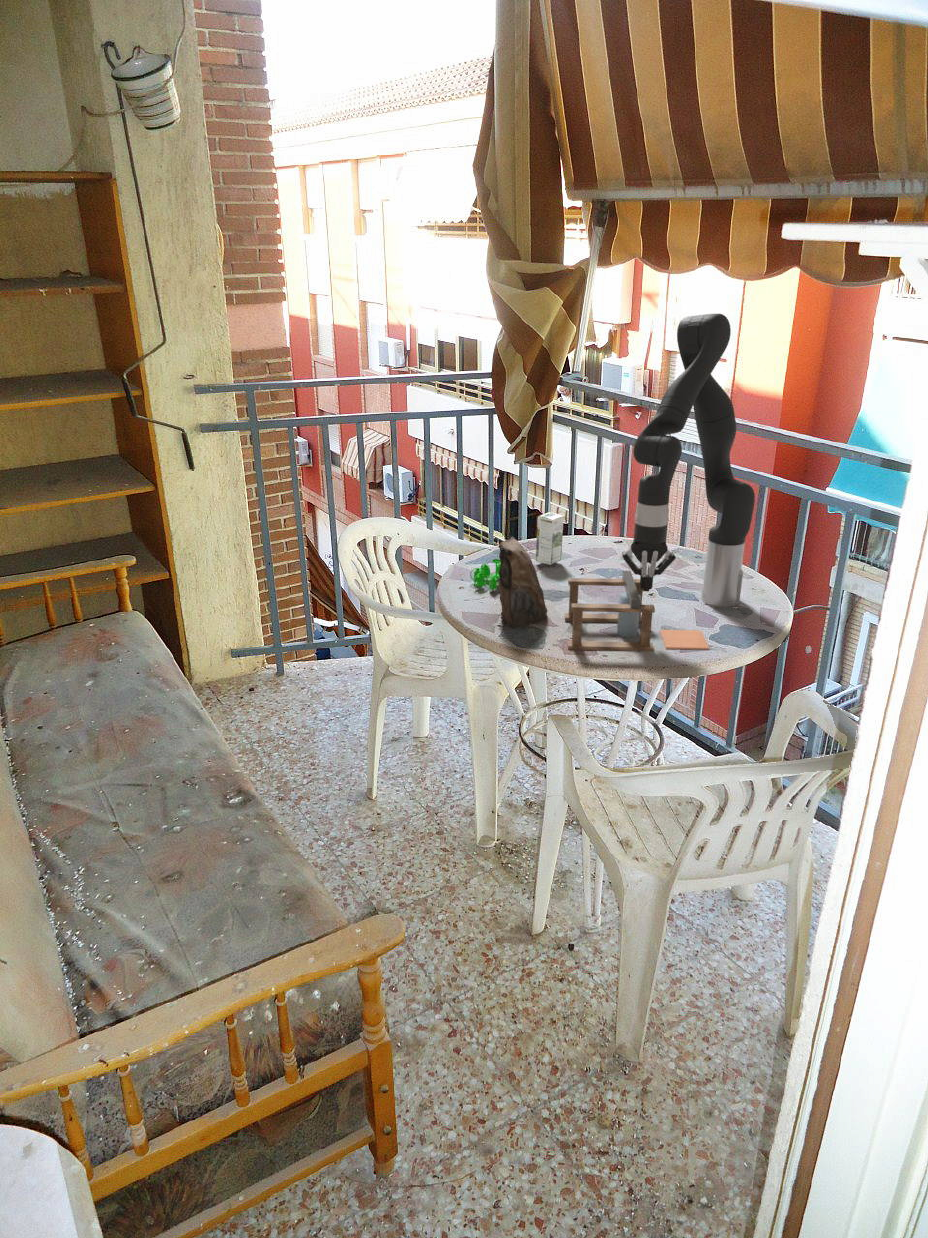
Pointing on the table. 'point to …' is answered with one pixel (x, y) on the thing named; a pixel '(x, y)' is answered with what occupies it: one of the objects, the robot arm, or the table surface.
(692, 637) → the terracotta tile
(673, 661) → the table surface
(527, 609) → the brown pointed rock
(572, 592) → the gantry
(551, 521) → the syrup box
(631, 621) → the grey-blue cylinder
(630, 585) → the bar
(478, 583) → the chandelier
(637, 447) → the robot arm
